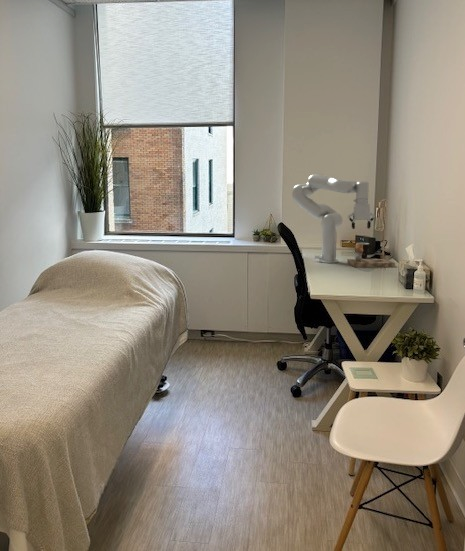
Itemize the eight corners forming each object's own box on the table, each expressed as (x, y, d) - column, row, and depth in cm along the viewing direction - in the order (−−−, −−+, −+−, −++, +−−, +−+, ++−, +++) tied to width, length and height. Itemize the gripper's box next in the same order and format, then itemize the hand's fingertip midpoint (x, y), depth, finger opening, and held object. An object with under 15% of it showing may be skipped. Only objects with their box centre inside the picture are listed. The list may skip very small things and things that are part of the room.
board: (354, 267, 336) (354, 263, 335) (347, 263, 351) (347, 259, 351) (394, 266, 337) (395, 262, 337) (386, 262, 353) (386, 258, 352)
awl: (355, 261, 341) (356, 244, 339) (353, 260, 345) (354, 243, 343) (363, 261, 341) (363, 244, 339) (360, 260, 346) (361, 243, 344)
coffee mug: (353, 257, 374) (353, 243, 372) (361, 256, 379) (361, 242, 377) (366, 259, 365) (367, 245, 363) (374, 258, 370) (375, 244, 368)
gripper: (350, 201, 333) (349, 229, 336) (377, 201, 334) (376, 229, 337) (346, 201, 340) (345, 228, 343) (373, 201, 341) (372, 227, 344)
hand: (360, 228), depth 340 cm, fingers open, 9 cm apart
